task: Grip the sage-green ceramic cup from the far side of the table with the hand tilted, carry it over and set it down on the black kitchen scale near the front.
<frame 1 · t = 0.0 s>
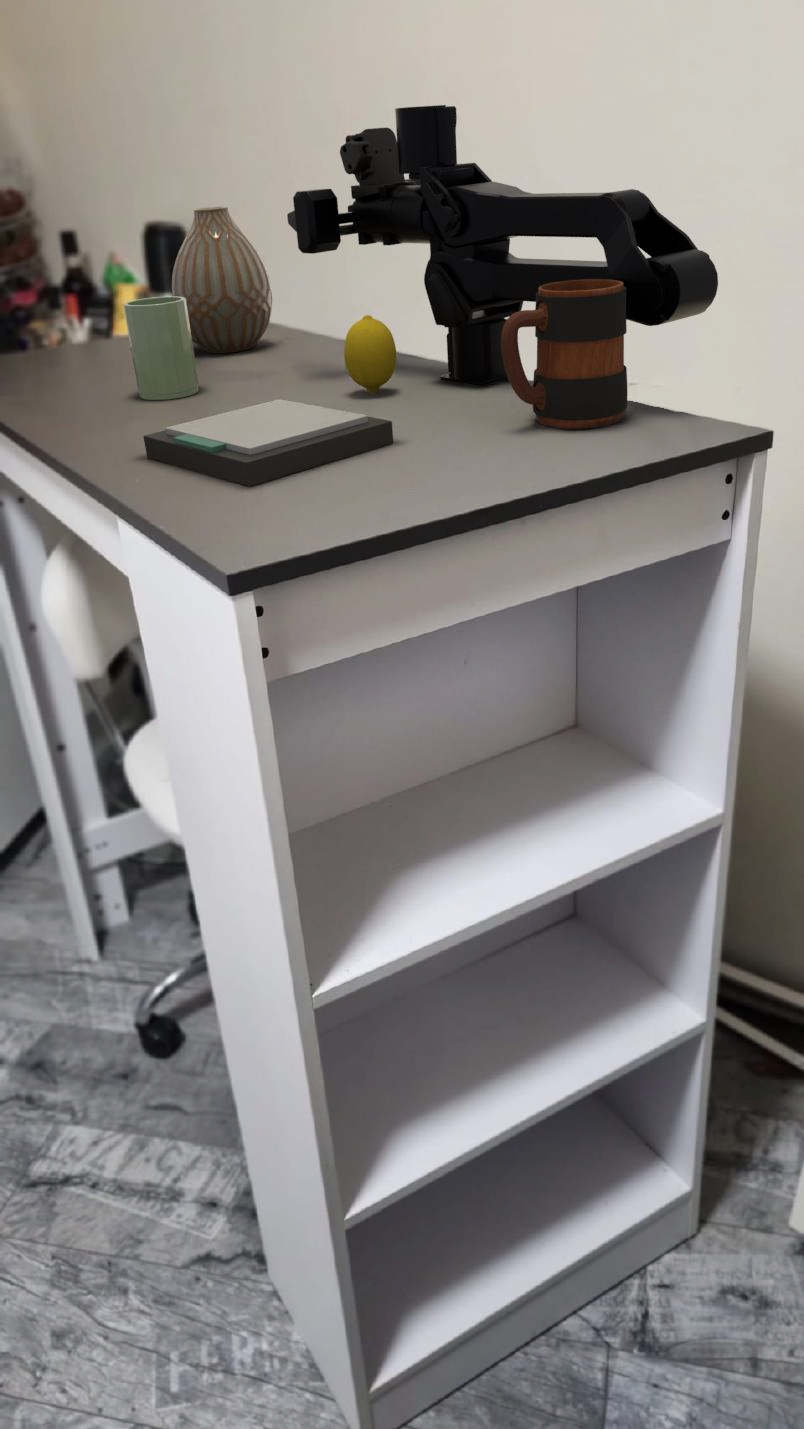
hand: (319, 214, 130), 17 cm above the countertop, tool horizontal, fingers open, 9 cm apart
lemon: (373, 395, 118), on the countertop
mug: (563, 423, 101), on the countertop
scale: (269, 450, 99), on the countertop
cup: (169, 393, 125), on the countertop
vase: (229, 350, 149), on the countertop
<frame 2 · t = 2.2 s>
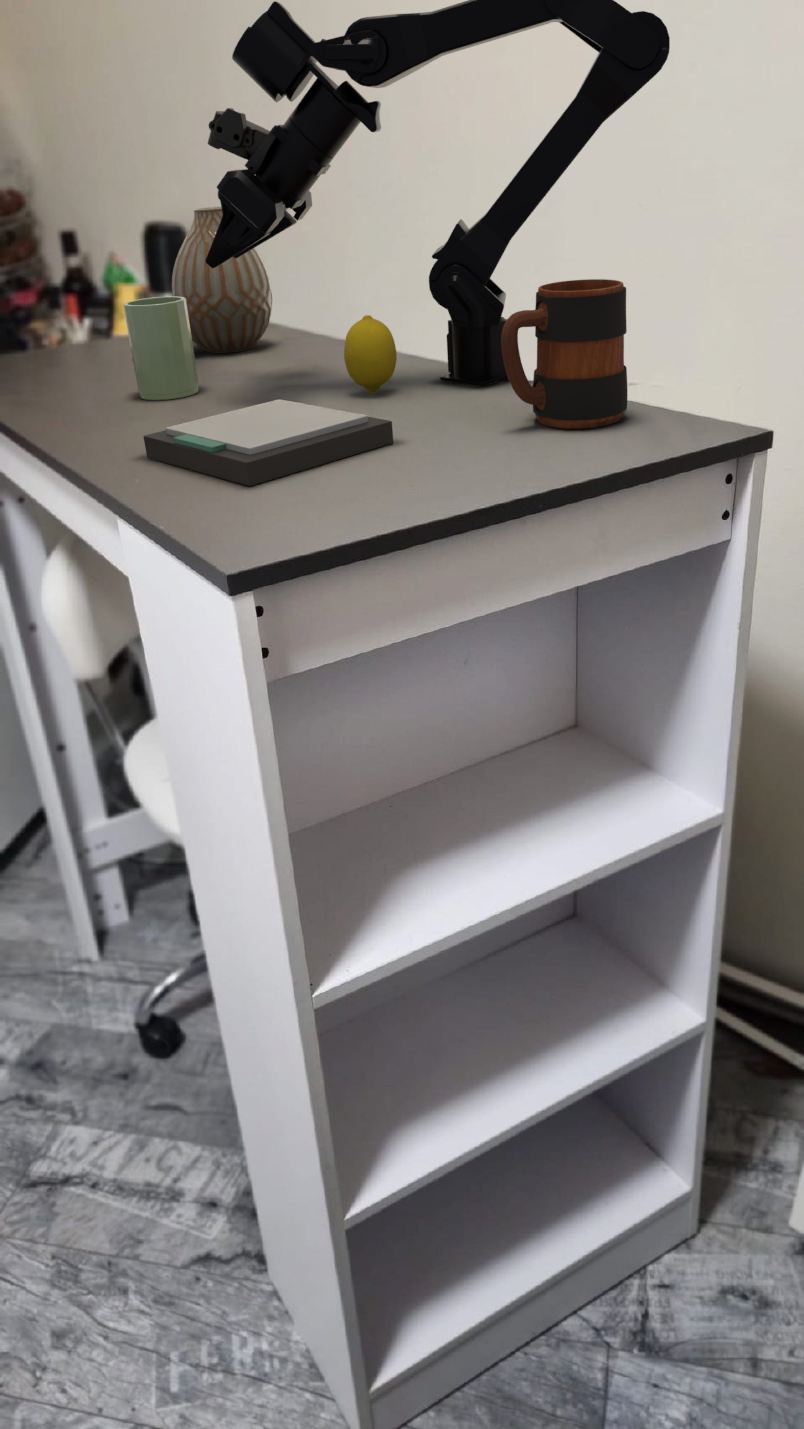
hand: (221, 260, 118), 14 cm above the countertop, tool tilted 45°, fingers open, 9 cm apart
nothing on the countertop moved.
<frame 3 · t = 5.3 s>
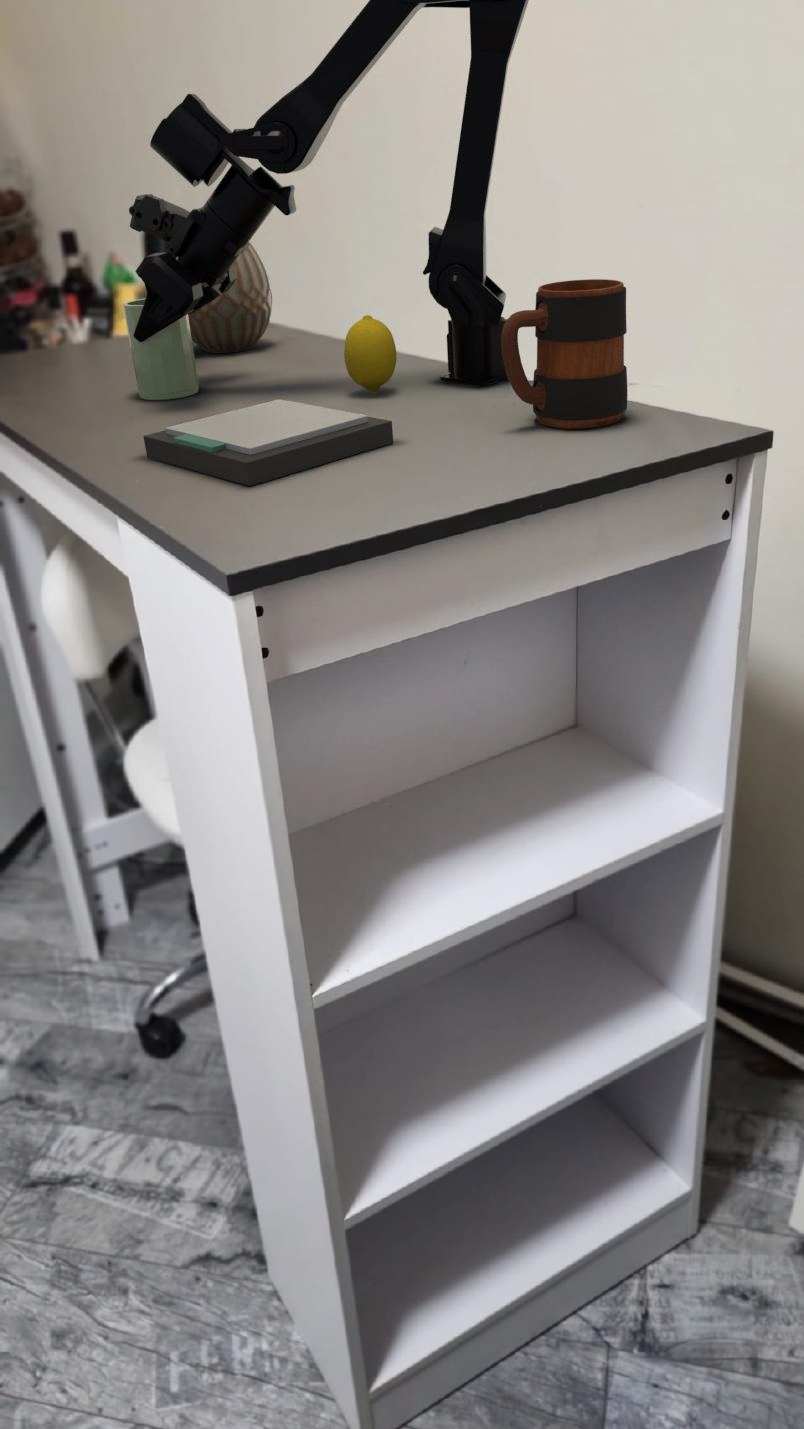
hand: (147, 333, 122), 7 cm above the countertop, tool tilted 45°, fingers closed on cup, 7 cm apart
cup: (169, 393, 125), on the countertop, touching gripper
everything else where it was.
when the fingers open (9 cm above the countertop, at t = 13.3 s): cup stays where it is, resting on scale.
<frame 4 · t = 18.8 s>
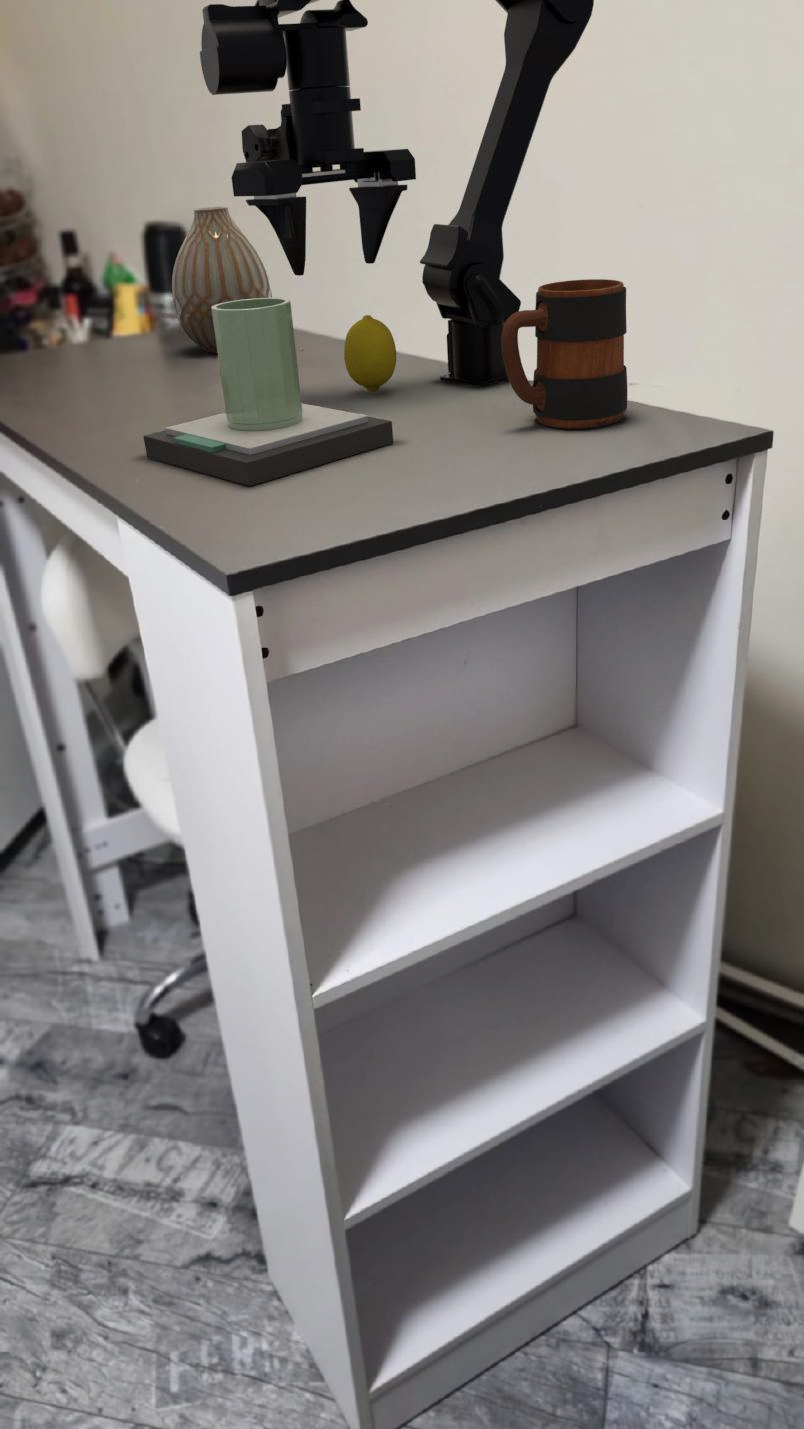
hand: (335, 269, 109), 13 cm above the countertop, tool pointing down, fingers open, 9 cm apart
cup: (265, 421, 98), point 3 cm above the countertop, touching scale
everything else where it was.
at the end: cup inside the target area on the scale (0.1 cm from its centre), point 2.6 cm above the scale's base; cup tilted 0°; the gripper is holding nothing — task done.
